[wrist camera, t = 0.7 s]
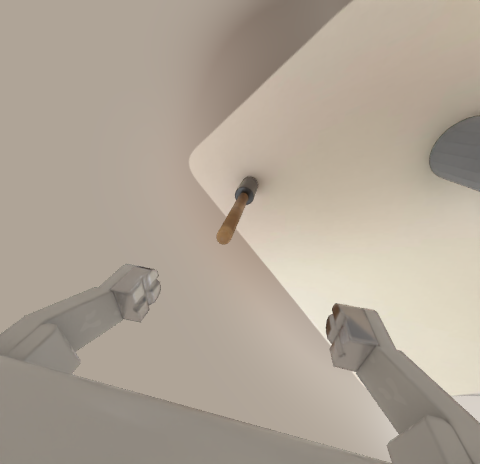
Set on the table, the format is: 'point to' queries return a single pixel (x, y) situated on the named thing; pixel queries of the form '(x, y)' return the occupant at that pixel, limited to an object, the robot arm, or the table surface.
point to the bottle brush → (237, 209)
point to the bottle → (459, 154)
